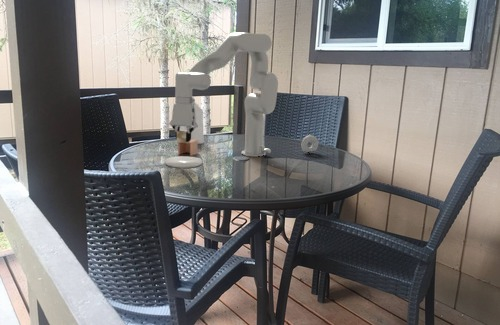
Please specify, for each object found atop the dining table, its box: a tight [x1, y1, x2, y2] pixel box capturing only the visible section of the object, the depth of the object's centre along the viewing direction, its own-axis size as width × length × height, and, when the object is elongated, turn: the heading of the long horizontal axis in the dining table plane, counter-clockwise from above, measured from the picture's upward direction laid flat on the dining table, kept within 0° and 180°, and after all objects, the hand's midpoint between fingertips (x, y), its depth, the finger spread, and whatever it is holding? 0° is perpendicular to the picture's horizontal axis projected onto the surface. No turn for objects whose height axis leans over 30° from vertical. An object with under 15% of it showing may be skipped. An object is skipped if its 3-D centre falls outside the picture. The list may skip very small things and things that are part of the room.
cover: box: [177, 139, 198, 157], centre depth 212 cm, size 7×7×7 cm
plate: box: [164, 155, 203, 169], centre depth 194 cm, size 17×17×1 cm
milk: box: [180, 96, 205, 145], centre depth 240 cm, size 12×12×26 cm
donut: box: [300, 134, 319, 152], centre depth 225 cm, size 10×4×10 cm, turn 112°
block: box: [176, 130, 190, 143], centre depth 191 cm, size 4×4×5 cm
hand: (183, 140), depth 192 cm, fingers closed on block, 4 cm apart
